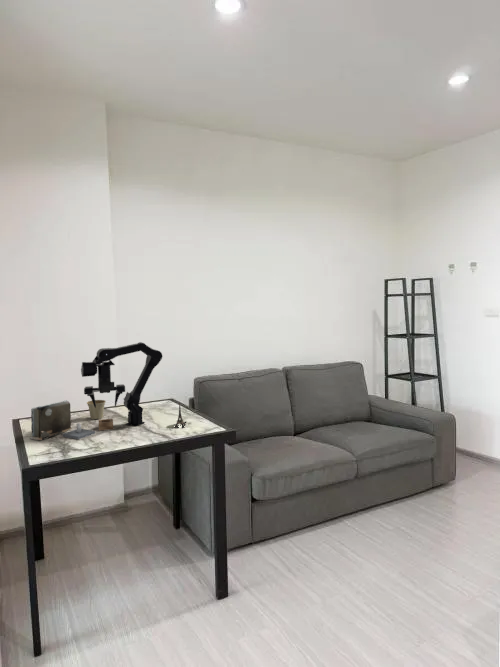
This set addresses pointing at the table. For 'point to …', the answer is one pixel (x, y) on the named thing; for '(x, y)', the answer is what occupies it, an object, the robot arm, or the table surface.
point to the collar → (106, 424)
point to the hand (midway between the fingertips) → (105, 406)
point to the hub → (78, 433)
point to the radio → (50, 420)
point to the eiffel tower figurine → (178, 421)
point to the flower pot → (96, 409)
